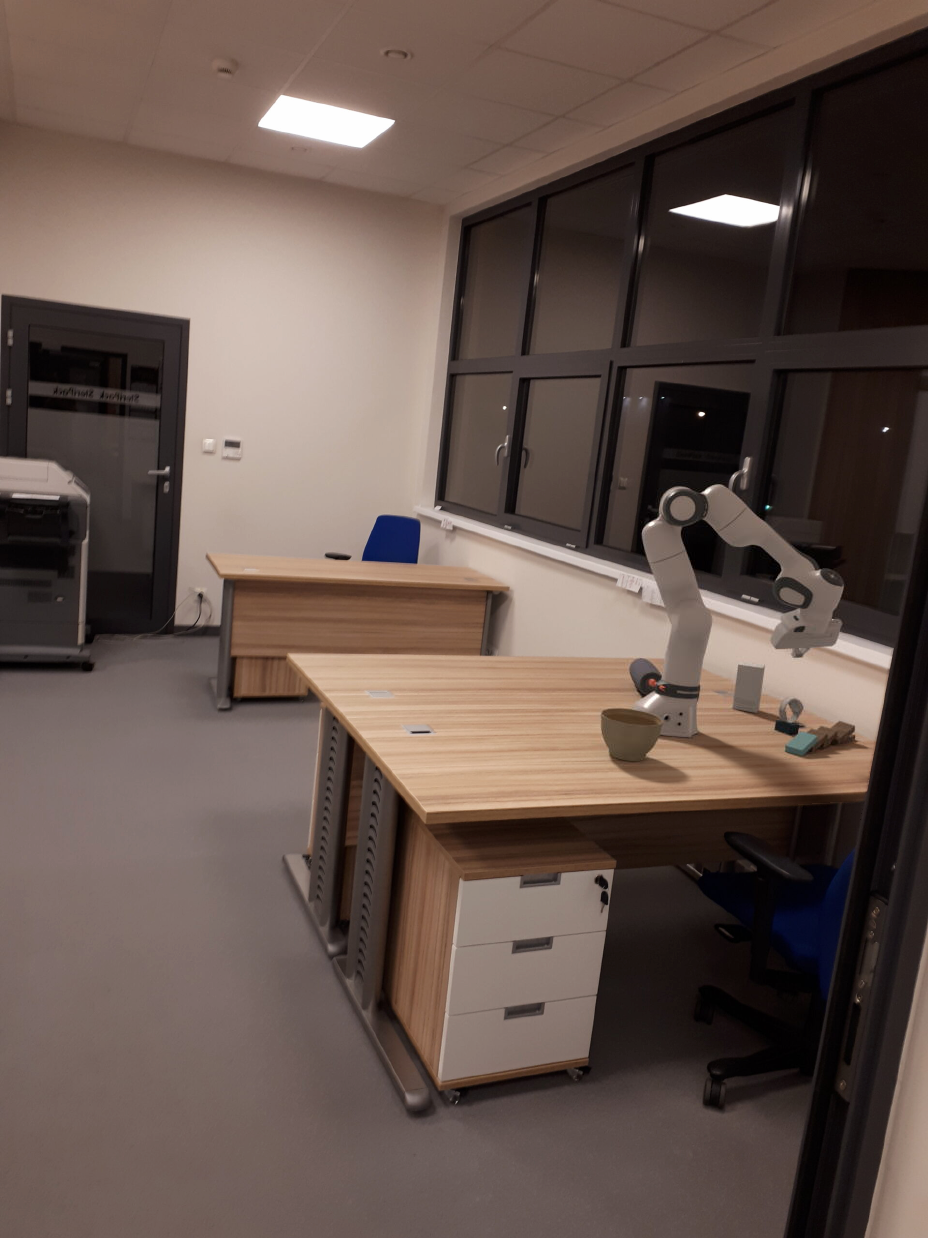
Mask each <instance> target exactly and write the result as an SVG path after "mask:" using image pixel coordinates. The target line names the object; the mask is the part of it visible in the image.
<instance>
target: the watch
mask: <svg viewBox="0 0 928 1238" xmlns="http://www.w3.org/2000/svg"><path fill="white" fill-rule="evenodd" d="M787 706H788V707H789V709H790V711H791V713H792V714H791V716H790V717H789V718H788V717H787V711H786V709H787ZM803 711H804V705H803V703H802V701H801V700H800V699H798V698H797V697H792V696H786V697H785V698H783V700H782V701H781V703H780V705H779V709H778V715H779V718H780V719H777V720H775V724H774V728H773V729H774V731H777V732H779V733H782V734H785V735H788V736H792V735H793V736H794V735H795V736H796V735H797V734H798V733H799V731H800V724H799V723H796V722H797V720H799V717H800V716H801V715H802V713H803Z"/></svg>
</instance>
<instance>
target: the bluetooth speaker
mask: <svg viewBox="0 0 928 1238" xmlns="http://www.w3.org/2000/svg"><path fill="white" fill-rule="evenodd" d="M628 669H629V670H628V671H629V677H630V678H631V680H632V683H633V684H634V685H635V687H636V688H637V690H638V691H639V693H640V694H641V695H644V696H647V695H649V694H650V693H652V692H653V691H655V690H654V689H655V687H652V686H651V685H649V682H650V679H654V680H655V681H657V682H658V681H659V680H660V679H661V678H662V673H661V672H660V671H659V670H658V668H657V667H656V666H655V665H654V664H653V663H652V662H651V661H650V660H648V659H646V658H642V657H641V658H635V660H633V661H632V662H631V663H630V666H629V668H628Z"/></svg>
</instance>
